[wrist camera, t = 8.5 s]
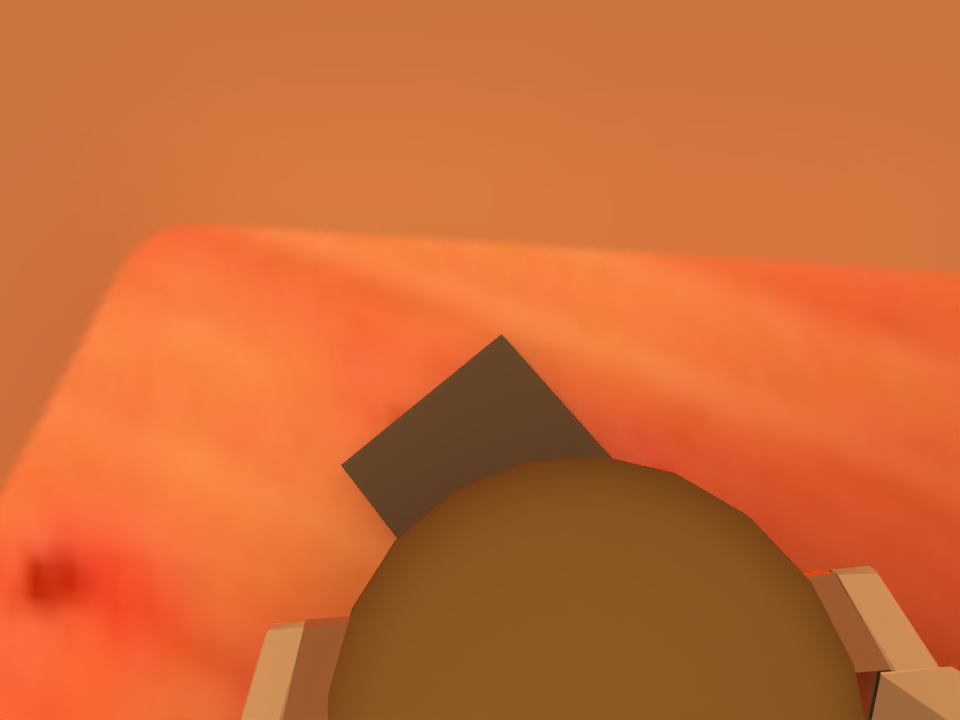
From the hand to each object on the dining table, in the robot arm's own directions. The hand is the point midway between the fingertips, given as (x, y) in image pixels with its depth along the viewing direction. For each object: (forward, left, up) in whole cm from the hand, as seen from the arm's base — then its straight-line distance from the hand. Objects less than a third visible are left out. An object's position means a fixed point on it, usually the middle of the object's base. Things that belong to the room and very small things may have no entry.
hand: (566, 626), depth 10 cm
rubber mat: (-1, -5, -19) cm, 19 cm away
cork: (+1, +1, -7) cm, 7 cm away
